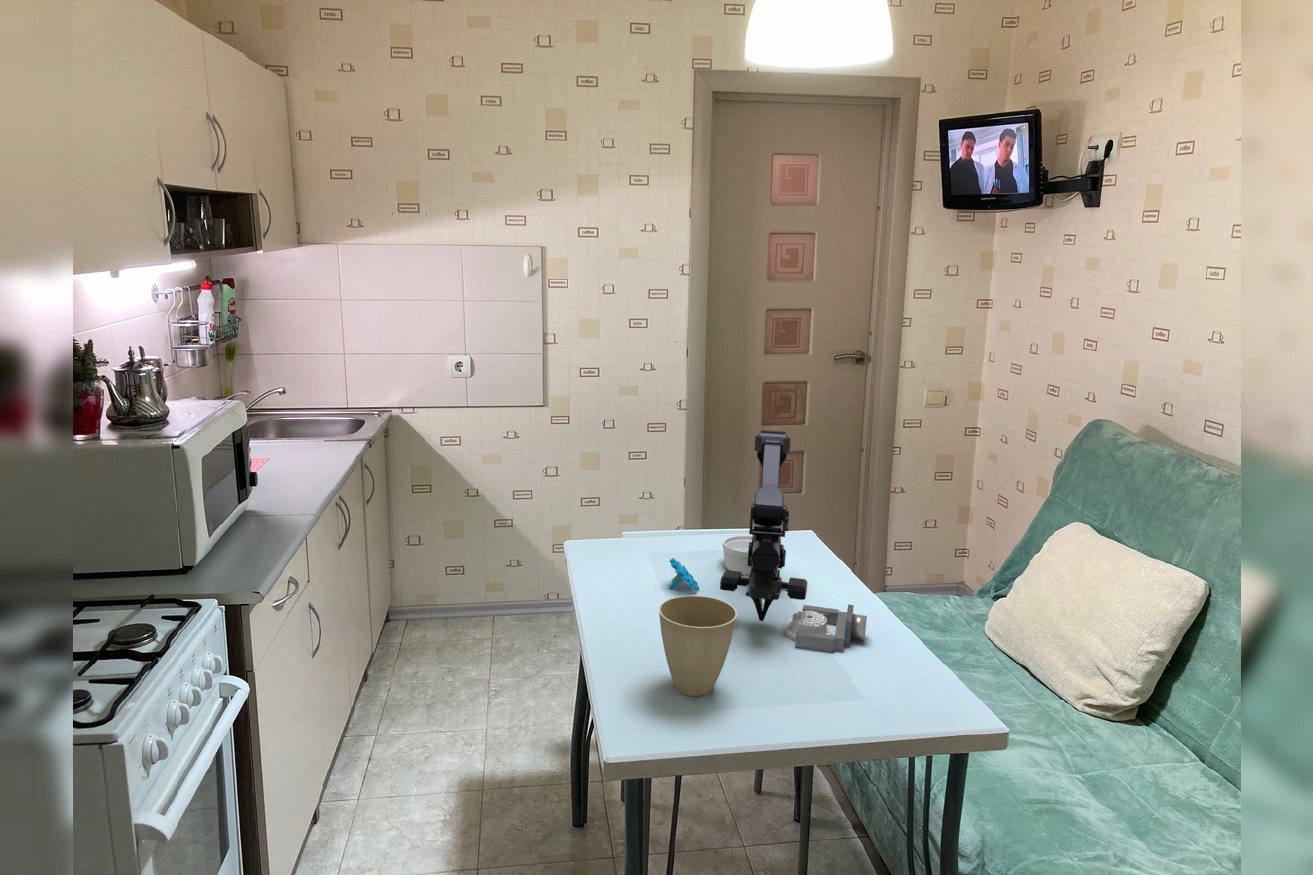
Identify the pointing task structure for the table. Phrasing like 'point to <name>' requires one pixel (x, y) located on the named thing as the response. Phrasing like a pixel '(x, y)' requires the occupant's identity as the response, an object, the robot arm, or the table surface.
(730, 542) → the ramekin
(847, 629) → the clevis bracket
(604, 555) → the table surface
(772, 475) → the robot arm
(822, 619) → the mechanical component
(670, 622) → the plant pot
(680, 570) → the gear
